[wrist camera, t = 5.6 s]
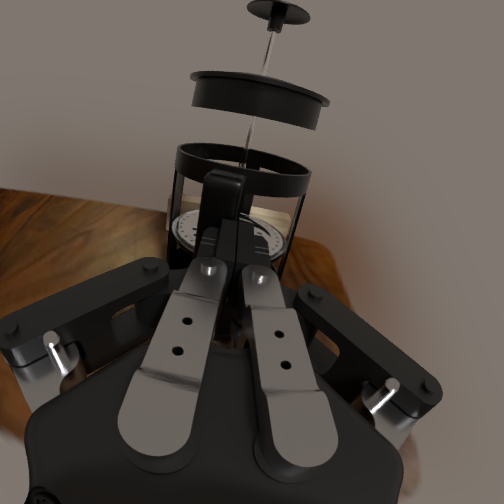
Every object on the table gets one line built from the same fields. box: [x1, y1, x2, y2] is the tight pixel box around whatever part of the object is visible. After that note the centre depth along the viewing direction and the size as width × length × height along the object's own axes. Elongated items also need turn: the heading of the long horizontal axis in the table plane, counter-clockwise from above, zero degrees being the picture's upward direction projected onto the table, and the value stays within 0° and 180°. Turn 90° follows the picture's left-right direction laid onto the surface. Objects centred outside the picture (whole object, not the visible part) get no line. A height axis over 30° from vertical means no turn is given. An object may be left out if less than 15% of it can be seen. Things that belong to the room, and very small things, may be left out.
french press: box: [166, 0, 330, 341], centre depth 17 cm, size 12×9×23 cm
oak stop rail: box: [166, 194, 291, 238], centre depth 32 cm, size 14×2×4 cm, turn 92°
